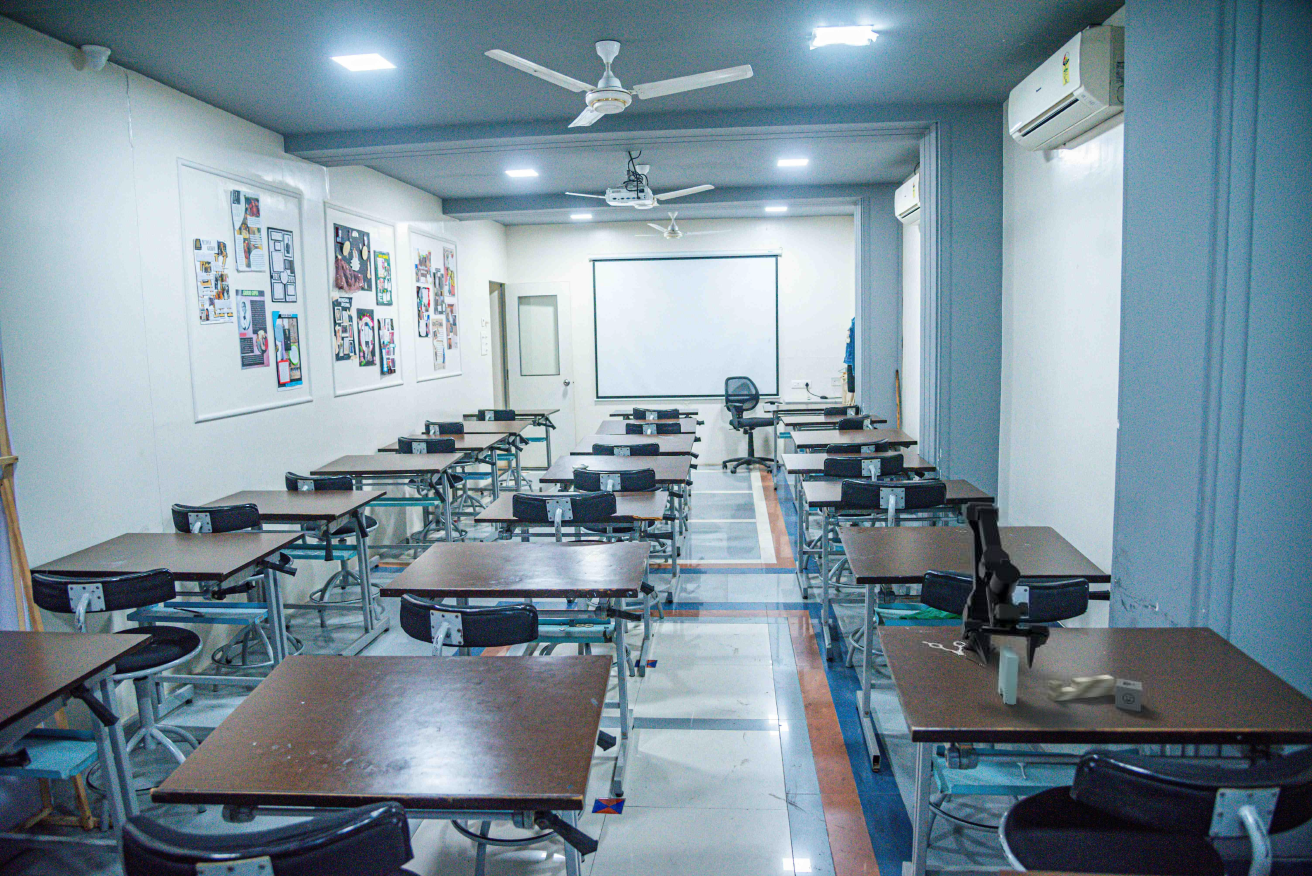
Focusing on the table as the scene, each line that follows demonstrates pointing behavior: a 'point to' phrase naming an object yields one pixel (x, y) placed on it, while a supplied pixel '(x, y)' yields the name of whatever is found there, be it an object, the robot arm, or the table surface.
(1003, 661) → the notched plate
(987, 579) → the robot arm
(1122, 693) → the grey cube
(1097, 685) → the cream stepped bar
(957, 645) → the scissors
